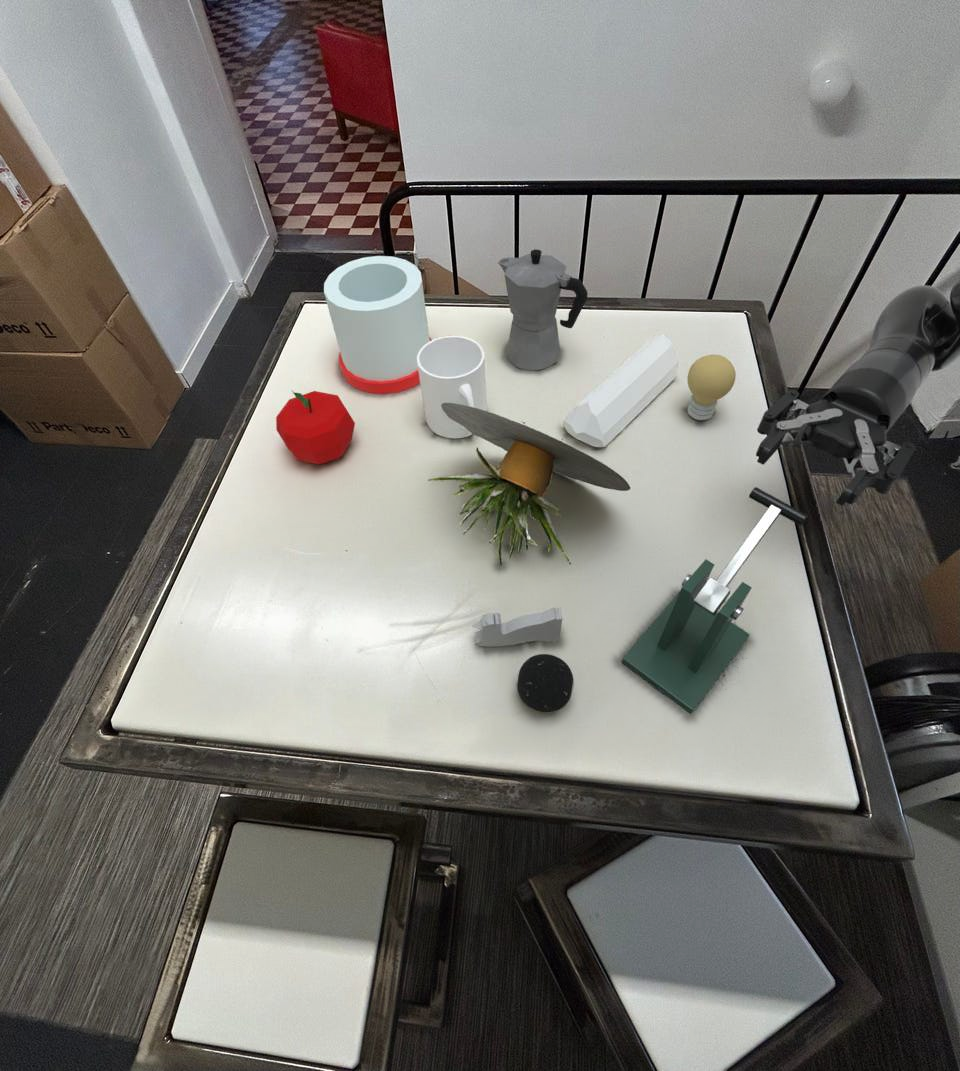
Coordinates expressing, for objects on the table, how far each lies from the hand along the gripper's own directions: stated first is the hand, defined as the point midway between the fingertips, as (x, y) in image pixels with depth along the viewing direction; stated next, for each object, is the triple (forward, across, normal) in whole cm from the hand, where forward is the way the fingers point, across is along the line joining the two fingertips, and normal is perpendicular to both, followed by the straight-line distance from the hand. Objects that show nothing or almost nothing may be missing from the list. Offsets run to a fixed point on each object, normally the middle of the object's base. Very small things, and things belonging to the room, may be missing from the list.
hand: (801, 478), depth 62 cm
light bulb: (-20, -20, +17) cm, 33 cm away
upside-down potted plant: (+12, -27, +17) cm, 34 cm away
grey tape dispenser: (+26, -15, +17) cm, 35 cm away
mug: (+4, -46, +17) cm, 49 cm away
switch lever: (+10, 0, +4) cm, 10 cm away
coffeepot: (-16, -47, +17) cm, 53 cm away
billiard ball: (+29, -9, +17) cm, 35 cm away
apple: (+22, -58, +17) cm, 64 cm away
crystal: (-15, -30, +17) cm, 37 cm away
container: (+2, -65, +17) cm, 68 cm away
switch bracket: (+15, 0, +17) cm, 22 cm away
